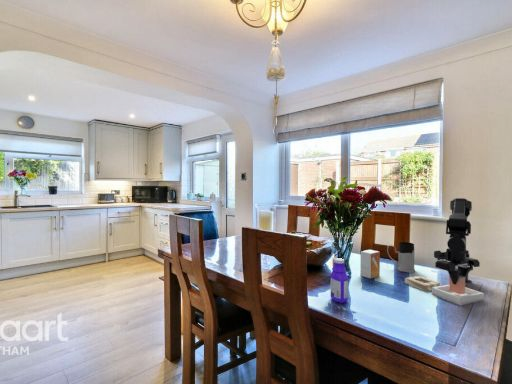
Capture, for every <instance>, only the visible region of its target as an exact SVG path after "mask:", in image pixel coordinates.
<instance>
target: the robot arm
mask: <svg viewBox="0 0 512 384" xmlns="http://www.w3.org/2000/svg"><path fill="white" fill-rule="evenodd" d="M472 207H473V203H472V201H470V200H468V199H467V198H466V197H465V198H463V197H461V198H459V197H458V198H457V197H456V198H453V199H452V200H450V202H449V210H450V211H451V214H449V217H448V219H447V220H446V227H445V234H446V235H449V237H448V238H449V239H448V240H447V241H446V242H447V243H446V244H447V247H448V248H446V249H445V251H441V250H435V251H433V257H434V258H435V259H437V260H436V261H434V262H435V263H434V264H435V266H434V267H435V268H437V269H439V270H444V271H447V272H448V274H449V275H450V277H451V280H452V283H453V284H455V285H456V283H457V281H458V278H459V275H461V276H464V277H465V284H467V283H471V282H472V279H471V280H470V279H469V273H470V272H471V271H474V268H478V267H480V265H481V264H480V261H479V259H476V258H473V257H470V253H469V250H468V249H467V237H469V235H471V234H472V233H471V232H472V224H471V222H470V221H469V220H468V217H469V216H470V214H471V212H473V209H472ZM449 275H448V276H449Z"/></svg>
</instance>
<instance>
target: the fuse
mask: <svg viewBox="0 0 512 384" xmlns="http://www.w3.org/2000/svg"><path fill="white" fill-rule="evenodd" d="M448 276H449V278H448V279H449V283H448V285H449V291H452V292H455V293H457V294H465V287H466V283H465V277H464V276H461V275H459V278H458V281H457V283H456V285H455V284H453V283H452V280H451V277H450V275H448Z"/></svg>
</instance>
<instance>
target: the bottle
mask: <svg viewBox="0 0 512 384" xmlns="http://www.w3.org/2000/svg"><path fill="white" fill-rule="evenodd" d="M342 258H343V257H342ZM342 258H335V259H334V266H333V265H332V269H331V270H332V272H331V273H330V298H331V300H333V301H334V302H336V303H338V302H339V303H338V304H343V303H347V302H348V300H349V298H348V297H349V277H348V274H347V268H346V266H345V265H346V263H345V258H343V259H342Z"/></svg>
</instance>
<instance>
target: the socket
mask: <svg viewBox="0 0 512 384" xmlns="http://www.w3.org/2000/svg"><path fill="white" fill-rule="evenodd" d="M404 283H405V284H406V285H409V286H412V287H414V288H417V289H418V290H420V291H424V292H427V291H428V292H429V291H432V287H437V286H442V284H441V282H438V281H436V280H432V279H429V278H427V277H423V276H421V275H415V276H410V277H404Z"/></svg>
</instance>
